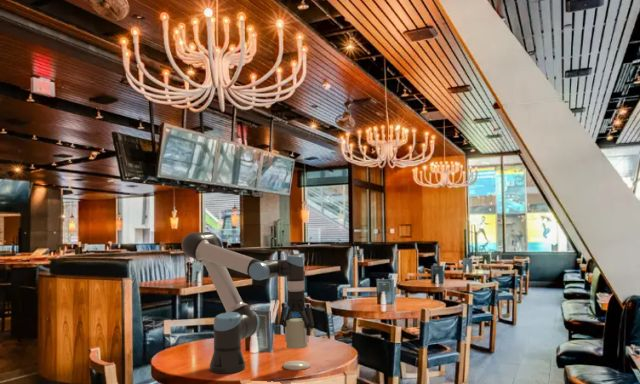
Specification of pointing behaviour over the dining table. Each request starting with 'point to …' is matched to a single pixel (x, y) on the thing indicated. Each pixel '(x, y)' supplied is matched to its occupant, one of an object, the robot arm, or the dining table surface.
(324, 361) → the dining table surface
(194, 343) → the dining table surface
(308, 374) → the dining table surface
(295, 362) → the disc
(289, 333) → the can
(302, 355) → the dining table surface
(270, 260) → the robot arm
